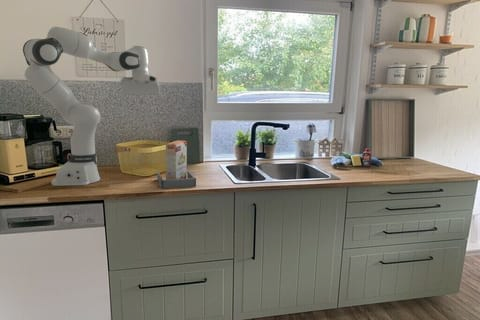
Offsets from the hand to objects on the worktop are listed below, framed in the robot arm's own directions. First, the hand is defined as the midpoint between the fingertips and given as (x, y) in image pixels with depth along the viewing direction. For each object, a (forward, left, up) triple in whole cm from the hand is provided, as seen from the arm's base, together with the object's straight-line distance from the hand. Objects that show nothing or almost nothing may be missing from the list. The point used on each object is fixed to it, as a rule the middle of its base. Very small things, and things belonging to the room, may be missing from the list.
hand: (141, 103), depth 189 cm
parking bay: (+14, -28, -39) cm, 50 cm away
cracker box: (+15, -26, -39) cm, 49 cm away
